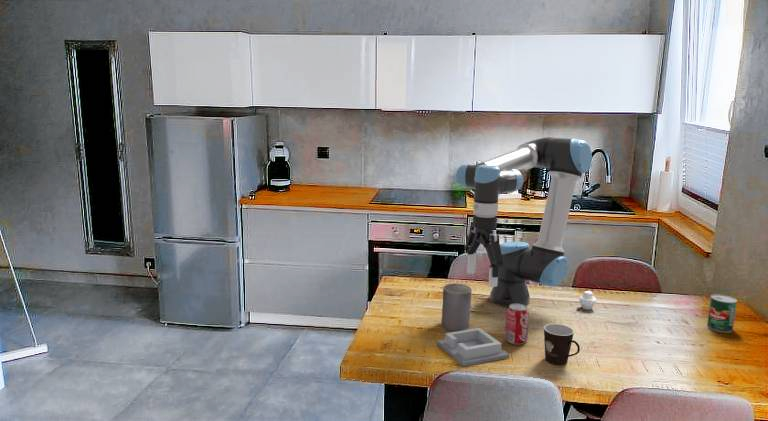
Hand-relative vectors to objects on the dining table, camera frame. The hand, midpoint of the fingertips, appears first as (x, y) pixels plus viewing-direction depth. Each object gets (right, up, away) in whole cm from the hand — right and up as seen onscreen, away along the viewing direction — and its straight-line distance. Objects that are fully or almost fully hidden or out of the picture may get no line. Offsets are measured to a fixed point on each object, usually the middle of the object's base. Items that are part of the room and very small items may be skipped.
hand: (481, 279), depth 180 cm
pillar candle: (-7, -18, +14) cm, 23 cm away
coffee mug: (+21, -24, -12) cm, 34 cm away
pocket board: (-4, -21, -5) cm, 22 cm away
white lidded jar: (+45, -15, +32) cm, 57 cm away
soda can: (+11, -20, +2) cm, 24 cm away
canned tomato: (+86, -19, +16) cm, 89 cm away
